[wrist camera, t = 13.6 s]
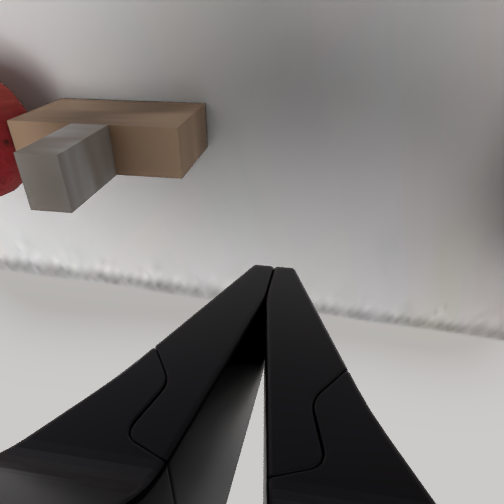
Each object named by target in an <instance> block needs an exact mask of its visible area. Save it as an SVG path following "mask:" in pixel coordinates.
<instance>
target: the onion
mask: <svg viewBox="0 0 504 504" xmlns="http://www.w3.org/2000/svg"><path fill="white" fill-rule="evenodd" d="M24 113H27V111H26V109H25V108H24V107H23V106H22V104H21V103H20V102H19V100H18V99H17V98H16V96H15V95H14V94H13V93H12V91H10V90H9V89H8V88H7V87H5V86H4V85H3V84H2V83H0V196H2V195H5V194H7V193H9V192H12V191H14V190H15V189H16V188H17V187H18V186H19V185H20V184H21V183H23V182H22V179H21V176H20V172H19V169H18V166H17V163H16V160H15V156H14V152H16V149H15V146H14V143H13V139H12V136H11V133H10V130H9V126H8V123H7V120H9V119H12V118H14V117H17V116H19V115H22V114H24Z"/></svg>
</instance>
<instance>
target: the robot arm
mask: <svg viewBox="0 0 504 504" xmlns="http://www.w3.org/2000/svg"><path fill="white" fill-rule="evenodd" d="M263 369H264V484H263V485H264V486H263V489H264V490H263V498H264V499H263V504H436V503H435V502H434V500H433V499H432V498H431V496H430V495H429V493H428V492H427V491H426V489H425V488H424V486H423V485H422V484H421V482H420V481H419V480H418V478H417V477H416V475H415V474H414V473H413V471H412V470H411V468H410V467H409V465H408V464H407V463H406V461H405V460H404V458H403V457H402V456H401V454H400V453H399V451H398V450H397V449H396V447H395V446H394V444H393V443H392V441H391V440H390V439H389V437H388V436H387V434H386V433H385V431H384V430H383V428H382V427H381V426H380V424H379V422H378V421H377V420H376V418H375V417H374V415H373V414H372V412H371V411H370V409H369V407H368V406H367V404H366V402H365V400H364V398H363V397H362V395H361V393H360V392H359V390H358V388H357V386H356V384H355V383H354V381H353V379H352V377H351V375H350V373H349V372H348V371H347V368H346V366H345V364H344V362H343V360H342V358H341V356H340V354H339V353H338V351H337V349H336V347H335V345H334V343H333V342H332V340H331V338H330V336H329V334H328V332H327V330H326V328H325V326H324V324H323V322H322V320H321V319H320V317H319V315H318V313H317V311H316V309H315V307H314V305H313V303H312V302H311V300H310V298H309V296H308V294H307V292H306V290H305V288H304V286H303V285H302V283H301V281H300V279H299V277H298V275H297V273H296V271H295V270H294V269H293V268H285V267H276V268H275V269H274V268H273V267H271V266H262V265H255V266H253V267H252V268H250V269H249V270H248V271H247V272H246V273H244V274H243V275H242V276H241V277H239V278H238V279H237V280H236V281H235V282H233V283H232V284H231V285H230V286H228V287H227V288H226V289H225V290H224V291H222V292H221V293H220V294H219V295H218V296H216V297H215V298H214V299H213V300H211V301H210V302H209V303H208V304H207V305H205V306H204V307H203V308H202V309H200V310H199V311H198V312H197V313H196V314H194V315H193V316H192V317H191V318H190V319H188V320H187V321H186V322H185V323H183V324H182V325H181V326H180V327H178V328H177V329H176V330H175V331H174V332H172V333H171V334H170V335H169V336H168V337H166V338H165V339H164V340H163V341H161V342H160V343H159V344H158V345H157V346H156V347H155V348H153V349H151V350H150V351H149V352H148V353H146V354H145V355H144V356H143V357H142V358H140V359H139V360H138V361H137V362H135V363H134V364H133V365H131V366H130V367H129V368H128V369H126V370H125V371H124V372H122V373H121V374H120V375H118V376H117V377H116V378H114V379H113V380H112V381H110V382H109V383H107V384H106V385H104V386H103V387H101V388H100V389H99V390H97V391H96V392H94V393H93V394H91V395H90V396H88V397H87V398H85V399H84V400H83V401H81V402H79V403H78V404H76V405H75V406H73V407H72V408H70V409H69V410H67V411H66V412H64V413H63V414H61V415H60V416H58V417H57V418H55V419H54V420H52V421H51V422H49V423H48V424H46V425H45V426H43V427H42V428H40V429H39V430H37V431H36V432H34V433H33V434H31V435H30V436H28V437H27V438H26V439H24V440H22V441H21V442H19V443H17V444H16V445H14V446H12V447H10V448H9V449H7V450H5V451H3V452H1V453H0V504H226V502H227V499H228V495H229V492H230V488H231V484H232V481H233V477H234V474H235V470H236V467H237V463H238V460H239V456H240V452H241V448H242V445H243V442H244V438H245V435H246V431H247V427H248V424H249V420H250V417H251V413H252V410H253V406H254V402H255V399H256V395H257V391H258V388H259V385H260V381H261V377H262V373H263Z"/></svg>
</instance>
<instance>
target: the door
mask: <svg viewBox="0 0 504 504" xmlns="http://www.w3.org/2000/svg"><path fill="white" fill-rule="evenodd" d="M7 123H8V126H9V130H10V133H11V136H12V139H13V143H14V146H15V149H16V152H14V156H15V160H16V163H17V166H18V169H19V172H20V176H21V179H22V182H23V185H24V188H25V192H26V195H27V198H28V201H29V205H30V208H31V210H40V211H53V212H66V213H72V212H74V211H75V210H76V209H77V208H78V207H79V206H81V205H82V204H83V203H84V202H85V201H86V200H88V199H89V198H90V197H91V196H92V195H93V194H95V193H96V192H97V191H98V190H99V189H100V188H102V187H103V186H104V185H105V184H106V183H108V182H109V181H110V180H111V179H112V178H113V177H115V176H116V175H132V176H148V177H165V178H181V179H182V178H183V177H184V176H185V174H186V173H187V172H188V171H189V169H190V168H191V167H192V166H193V164H194V163H195V162H196V161H197V159H198V158H199V157H200V156H201V154H202V153H203V152H204V151H205V149H206V148H207V130H206V114H205V103H178V102H149V101H120V100H91V99H62V98H61V99H59V100H56V101H54V102H51V103H49V104H47V105H44V106H42V107H39V108H37V109H34V110H32V111H29V112H27V113H24V114H22V115H19V116H17V117H14V118H12V119H9V120H7Z"/></svg>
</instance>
